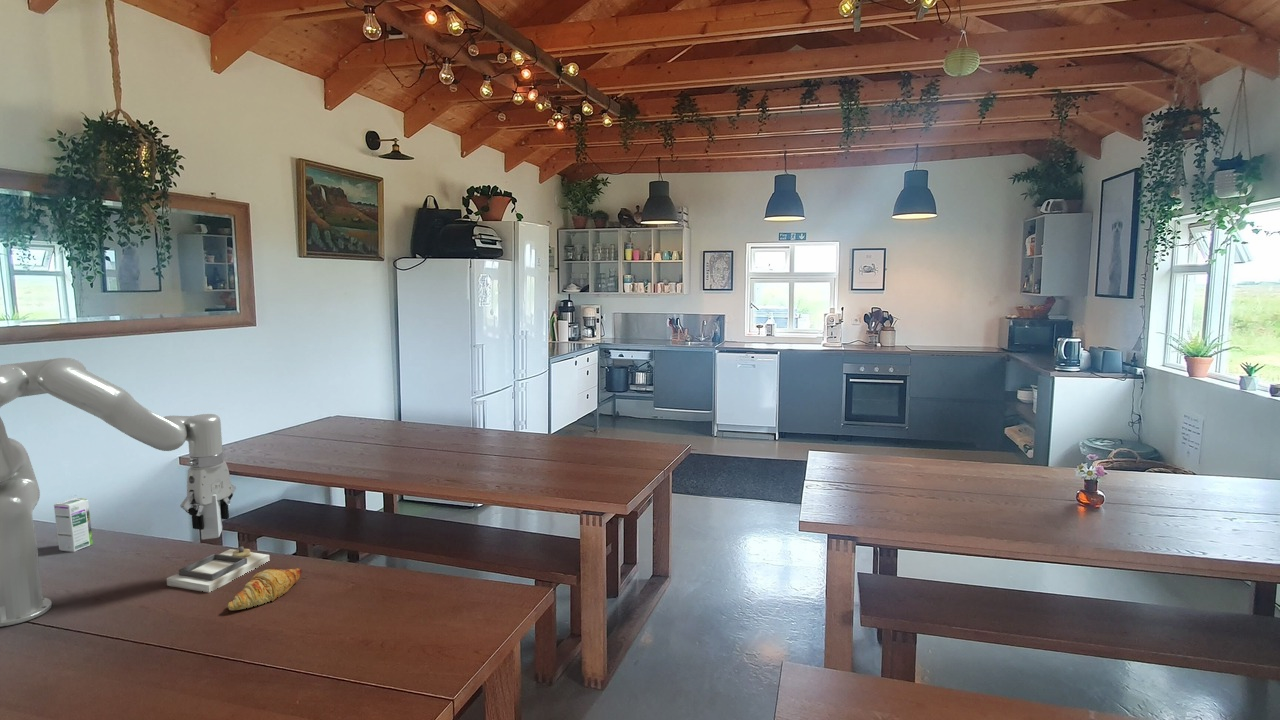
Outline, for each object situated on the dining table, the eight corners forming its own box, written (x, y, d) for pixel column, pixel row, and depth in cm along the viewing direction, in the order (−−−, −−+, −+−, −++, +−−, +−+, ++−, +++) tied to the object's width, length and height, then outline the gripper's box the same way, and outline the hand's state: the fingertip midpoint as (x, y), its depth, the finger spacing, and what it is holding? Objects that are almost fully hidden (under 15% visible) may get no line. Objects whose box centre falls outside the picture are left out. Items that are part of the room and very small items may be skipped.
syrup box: (74, 552, 197) (69, 505, 195) (58, 550, 198) (53, 503, 197) (93, 544, 203) (89, 498, 201) (77, 543, 204) (73, 497, 202)
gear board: (209, 592, 174) (208, 576, 174) (167, 585, 178) (165, 569, 177) (269, 561, 194) (268, 546, 193) (230, 555, 197) (229, 540, 197)
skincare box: (204, 532, 184) (201, 490, 183) (222, 529, 186) (219, 488, 184) (200, 540, 179) (197, 497, 177) (219, 537, 180) (216, 495, 179)
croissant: (238, 629, 163) (247, 605, 161) (211, 605, 166) (219, 581, 163) (308, 590, 183) (317, 568, 181) (283, 568, 185) (291, 546, 183)
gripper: (188, 470, 170) (193, 537, 173) (244, 453, 187) (248, 514, 189) (165, 468, 172) (170, 534, 175) (223, 451, 189) (227, 511, 191)
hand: (211, 523), depth 182 cm, fingers closed on skincare box, 7 cm apart
